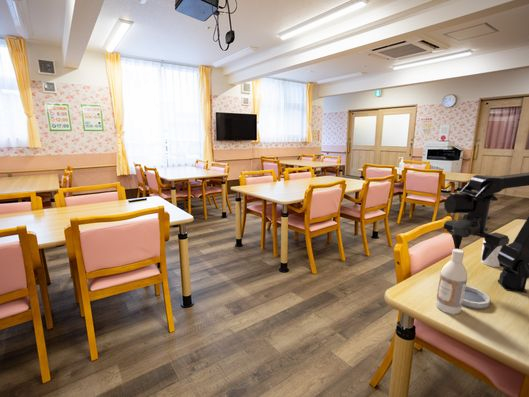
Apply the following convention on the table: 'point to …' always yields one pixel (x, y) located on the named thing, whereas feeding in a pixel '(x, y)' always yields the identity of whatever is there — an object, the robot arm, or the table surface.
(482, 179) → the robot arm
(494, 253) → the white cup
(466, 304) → the round grey tray
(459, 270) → the bath foam
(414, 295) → the table surface
